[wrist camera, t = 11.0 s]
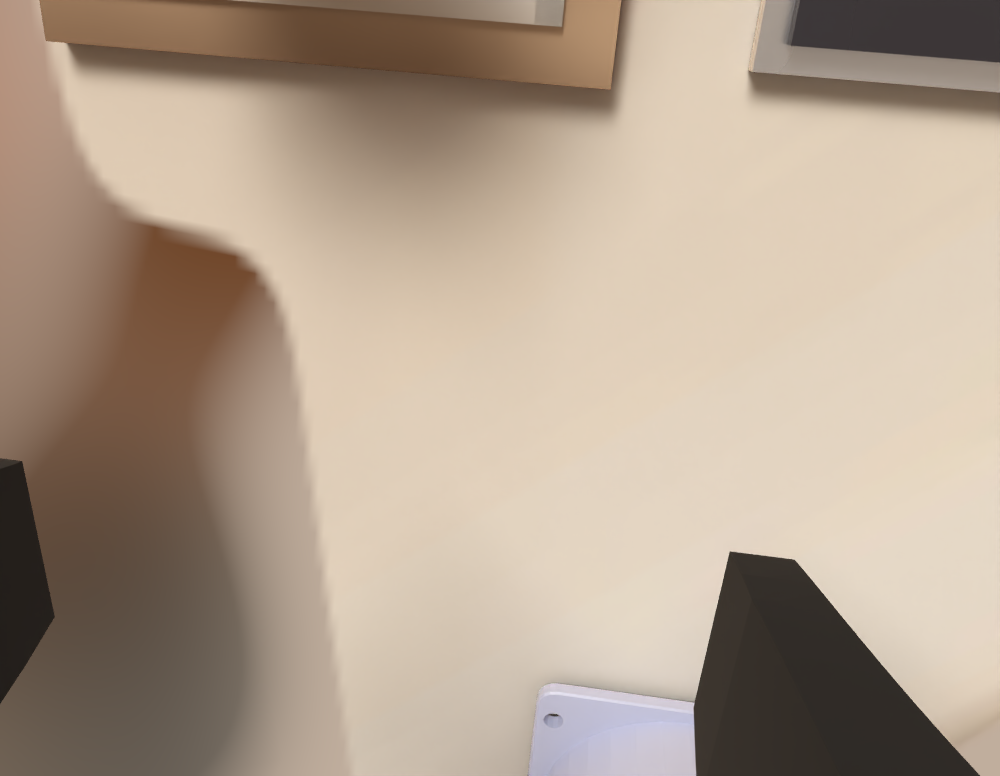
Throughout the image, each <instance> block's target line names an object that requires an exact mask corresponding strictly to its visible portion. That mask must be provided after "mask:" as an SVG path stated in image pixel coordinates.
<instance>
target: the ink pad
mask: <svg viewBox="0 0 1000 776" xmlns="http://www.w3.org/2000/svg"><path fill="white" fill-rule="evenodd" d="M748 70H750V71H752V72H760V73H771V74H783V75H795V76H807V77H819V78H831V79H843V80H855V81H867V82H879V83H891V84H903V85H915V86H927V87H939V88H951V89H963V90H975V91H987V92H999V93H1000V0H761V4H760V9H759V15H758V20H757V25H756V31H755V36H754V41H753V47H752V52H751V58H750V63H749V68H748Z"/></svg>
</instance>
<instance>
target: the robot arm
mask: <svg viewBox="0 0 1000 776" xmlns="http://www.w3.org/2000/svg"><path fill="white" fill-rule="evenodd" d="M53 619H54V612H53V607H52V602H51V597H50V592H49V588H48V583H47V578H46V573H45V569H44V564H43V559H42V554H41V549H40V545H39V540H38V535H37V530H36V526H35V521H34V516H33V511H32V506H31V502H30V497H29V492H28V487H27V483H26V478H25V473H24V468H23V463H22V461H16V460H8V459H0V703H1V702H2V700H3V699H4V697H5V696H6V694H7V692H8V691H9V690H10V688H11V686H12V685H13V683H14V682H15V680H16V679H17V677H18V676H19V674H20V673H21V671H22V670H23V668H24V667H25V665H26V664H27V662H28V660H29V658H30V657H31V655H32V653H33V652H34V650H35V648H36V647H37V645H38V644H39V642H40V640H41V639H42V637H43V635H44V634H45V632H46V630H47V629H48V627H49V625H50V624H51V622H52V620H53ZM548 714H557V715H560V716H554V717H553V716H550V715H548ZM528 776H980V775H978V773H977V772H976V771H975V770H974V769H973V768H972V767H971V765H970V764H969V763H968V762H967V761H966V760H965V759H964V758H963V757H962V756H961V755H960V753H959V752H958V751H957V750H956V749H955V748H954V747H953V746H952V745H951V744H950V743H949V741H948V740H947V739H946V738H945V737H944V736H943V735H942V734H941V732H940V731H939V730H938V729H937V728H936V727H935V726H934V725H933V724H932V722H931V721H930V720H929V719H928V718H927V717H926V716H925V714H924V713H923V712H922V711H921V710H920V709H919V708H918V706H917V705H916V704H915V703H914V702H913V701H912V700H911V698H910V697H909V696H908V695H907V694H906V693H905V692H904V690H903V689H902V688H901V687H900V686H899V685H898V683H897V682H896V681H895V680H894V679H893V677H892V676H891V675H890V674H889V673H888V672H887V670H886V669H885V668H884V667H883V666H882V665H881V663H880V662H879V661H878V660H877V659H876V657H875V656H874V655H873V654H872V653H871V651H870V650H869V649H868V648H867V647H866V645H865V644H864V643H863V642H862V641H861V639H860V638H859V637H858V636H857V635H856V633H855V632H854V631H853V630H852V629H851V627H850V626H849V625H848V624H847V622H846V621H845V620H844V619H843V618H842V616H841V615H840V614H839V613H838V611H837V610H836V609H835V608H834V607H833V605H832V604H831V603H830V602H829V600H828V599H827V598H826V597H825V596H824V594H823V593H822V592H821V591H820V589H819V588H818V587H817V586H816V585H815V583H814V582H813V581H812V580H811V579H810V577H809V576H808V575H807V574H806V573H805V571H804V570H803V569H802V568H801V567H800V566H799V564H798V563H797V562H796V561H795V560H792V559H784V558H777V557H769V556H761V555H753V554H745V553H737V552H730V553H729V557H728V562H727V566H726V570H725V574H724V579H723V583H722V587H721V592H720V596H719V600H718V605H717V609H716V613H715V617H714V622H713V626H712V630H711V635H710V639H709V643H708V648H707V652H706V656H705V660H704V665H703V669H702V673H701V678H700V682H699V686H698V691H697V695H696V699H695V703H693V702H686V701H679V700H672V699H665V698H658V697H651V696H644V695H637V694H630V693H623V692H616V691H609V690H602V689H594V688H587V687H580V686H573V685H566V684H559V683H550V684H547V685H544V686H543V687H542V688H541V689H540V690H539V692H538V695H537V703H536V711H535V720H534V728H533V736H532V745H531V753H530V761H529V770H528Z"/></svg>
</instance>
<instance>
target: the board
mask: <svg viewBox="0 0 1000 776" xmlns="http://www.w3.org/2000/svg"><path fill="white" fill-rule="evenodd" d="M40 7H41V13H42V20H43V26H44V33H45V39H46V41H52V42H64V43H75V44H87V45H98V46H110V47H122V48H133V49H145V50H156V51H168V52H180V53H191V54H203V55H214V56H226V57H238V58H249V59H261V60H272V61H284V62H295V63H307V64H319V65H330V66H342V67H353V68H365V69H377V70H388V71H400V72H411V73H423V74H435V75H446V76H458V77H469V78H481V79H493V80H504V81H516V82H527V83H539V84H551V85H562V86H574V87H585V88H597V89H609V90H611V82H612V73H613V65H614V57H615V48H616V40H617V32H618V23H619V15H620V7H621V0H40Z"/></svg>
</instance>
